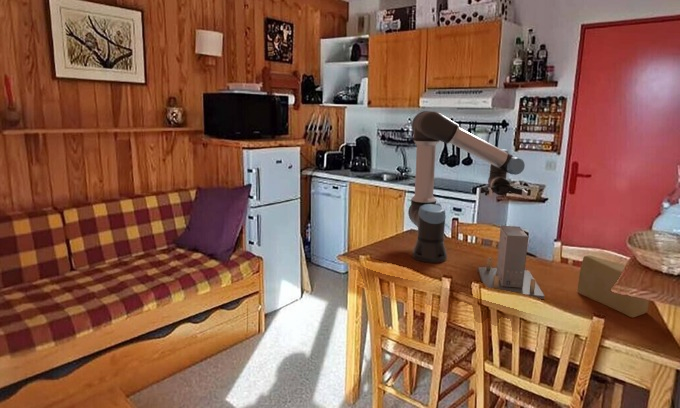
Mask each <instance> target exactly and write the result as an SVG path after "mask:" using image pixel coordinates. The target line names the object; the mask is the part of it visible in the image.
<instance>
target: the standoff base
mask: <svg viewBox="0 0 680 408" xmlns="http://www.w3.org/2000/svg"><path fill="white" fill-rule="evenodd" d="M486 259H487V260H486V266H485V267H484V266H478V269H477V270H478V274H479V277H480V281H481V283H482V282H483V283H484V284H485V285H486V286H487V287H489V288H494V289H500V290H506V291H511V292H516V293H521V294H525V295H529V296H533V297H537V298H540V299H544V300H545V294H544V293H543V290H541V288H540V286H539V284H538V283H537V281H536V278H534V276H533V275H532V274H531V271H530V269H529V270H528V269H527V270H526V269H525V273H524V282H523V288H517V287H505V286H502V285H501V283H500V280H499V276H498V275H497V273H496V271H497V267H492V257H487V258H486ZM540 299H539V300H540Z"/></svg>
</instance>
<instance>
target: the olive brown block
mask: <svg viewBox="0 0 680 408" xmlns="http://www.w3.org/2000/svg"><path fill="white" fill-rule="evenodd" d="M580 265H581V266H580V270H579V276H578V284H577V289H576V290H577V291H576V292H577V293H578V294H580V295H582V296H584V297H586V298H589V299H591V300H593V301H595V302H598V303H600V304H602V305H604V306H607V307H609V308H610V309H613V310H615V311H617V312H619V313H621V314H623V315H625V316H627V317H629V318H636V317H638V316H642V315H644V314H646V313H647V312H648V307H649V303H650V300H649V301H648V300H645V299H641V298H637V297H631V296H628V295H621V294H617V293H614V292H612V291H611V288H612V287H613V286H614V284H615V283H616V282H617V280H618V279H619V277H620V275H621V273H622V271H623V269H624V267H625V266H626V265H627V264H623V263H619V262H615V261H611V260H607V259H603V258H602V257H601V258H600V257H597V256H593V255H584V256H583V258H582V263H581V264H580Z"/></svg>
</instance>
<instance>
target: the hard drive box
mask: <svg viewBox="0 0 680 408" xmlns="http://www.w3.org/2000/svg"><path fill="white" fill-rule="evenodd" d="M499 228H500V229H499V230H500V231H499V240H498V249H497V261H496V268H497V271H496V273H497V275H498V276H499V280H500V283H501V285H502V286H505V287H517V288H523V282H524V273H525V270H526V262H527V261H526V260H527V255H528V254H527V253H528V243H529V236H528V235H527V233H526V232H525V231H524V230H523V229H522V228H521V227H520V226H514V225H500V227H499Z"/></svg>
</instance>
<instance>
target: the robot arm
mask: <svg viewBox="0 0 680 408" xmlns="http://www.w3.org/2000/svg"><path fill="white" fill-rule="evenodd" d="M411 128H412V131H413V142H414V143H415V144H416V158H415V159H416V160H415V177H414V178H415V179H414V180H415V181H414V184H415V185H414V196H412V197H411V198H410V205H409V207H408V212H407V213H408V218H409V220H410V221H411V223H412V224H413V225H415V226H416V227H417V238H416V242H415V245H414V248H413V250H412V258H413V259H414V260H416V261H418V262H421V263H422V262H423V263H430V264H434V263H436V264H437V263H443V262H445V261H446V260H447V259H448V257H447V256H448V253H447V249H446V247H445V230H446V228H445V227H446V217H447V215H446V210H445V208H444V207H442V206H441V205H437V199H436V197H434V190H435V189H434V185H435V184H434V183H435V171H436V170H435V168H436V167H435V166H436V149H437V145H438V143H440V142H442V143H444V144H446V145H448V144H451V145H453V146H455V147H457V148H459V149H461V150H463V151H465V152H467V153H469V154H470V155H473V156H475V157H476V158H479V159H481V160H482V161H485V162H486V163H488V164H490V168H489V169H490V170H489V177H488V179H487V184H486V185H484V186H481V187H480V194H484V196H489V198H493V193H494V194H496V195H498V196H505V195H508V194H510V195H513V194H516V195H521V197H522V198H523V199H525V200H527V199H528V197H529V196H531V194H532V193H531V192H532V189H530V188H527V187H522V186H519V185H515V186H514V185H511V183H510V181H508V180H507V174H510V175H515V176H516V175H520V174H521V173H523V171H524V169H525V161H524V160H523V159H522V158H520V157H518V156H515V155H512V154H510V153H509V150H508V149H504V148H499V147H497V146H495V145H493V144H491V143H489V142H488V141H487V140H484V139H482V138H480V137H478V136H477V135H474V134H472V133H470V132H469V131H466V130H465V129H464V128H461V127H460V126H459V124H458V123H457V122H455V121H454V120H451V119H450V118H449V117H447V116H445V115H444V114H442V113H441V112H437V111H433V110H432V111H431V110H423V111H421V112H419V113H416V115H415V116H414V117H413V119H412V120H411Z"/></svg>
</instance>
